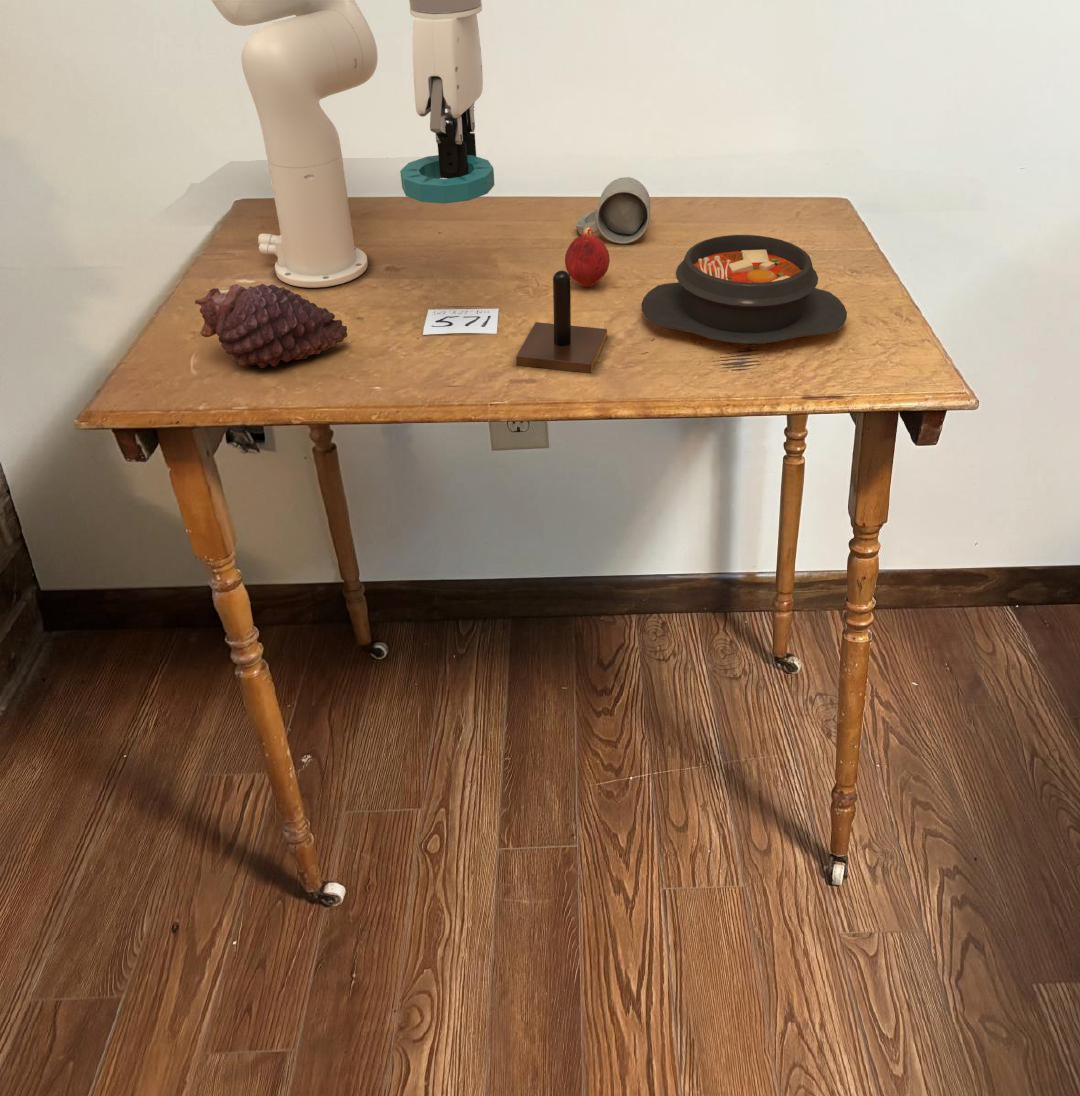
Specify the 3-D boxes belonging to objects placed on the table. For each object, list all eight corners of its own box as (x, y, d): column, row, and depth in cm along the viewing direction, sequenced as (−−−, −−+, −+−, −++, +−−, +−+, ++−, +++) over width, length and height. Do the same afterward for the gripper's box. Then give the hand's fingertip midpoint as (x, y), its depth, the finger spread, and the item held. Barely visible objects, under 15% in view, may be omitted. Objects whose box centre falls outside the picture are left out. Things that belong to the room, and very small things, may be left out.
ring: (390, 200, 120) (388, 182, 119) (421, 169, 127) (419, 152, 126) (477, 206, 118) (476, 187, 116) (504, 174, 125) (503, 156, 124)
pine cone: (344, 326, 138) (355, 279, 129) (339, 394, 134) (351, 351, 125) (197, 303, 133) (198, 253, 124) (188, 374, 129) (188, 327, 120)
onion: (605, 298, 143) (606, 239, 138) (561, 295, 144) (560, 236, 139) (611, 279, 147) (613, 221, 142) (569, 276, 148) (569, 218, 143)
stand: (516, 365, 129) (513, 284, 123) (535, 330, 136) (533, 252, 130) (591, 373, 127) (591, 291, 121) (606, 337, 134) (608, 258, 128)
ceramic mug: (649, 222, 162) (651, 170, 157) (649, 244, 156) (650, 191, 151) (578, 222, 163) (577, 171, 158) (574, 245, 156) (573, 191, 152)
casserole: (635, 353, 131) (638, 287, 125) (645, 286, 145) (647, 224, 140) (850, 363, 128) (862, 296, 122) (838, 293, 142) (848, 231, 137)
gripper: (436, -20, 121) (450, 149, 132) (382, 13, 109) (403, 196, 120) (501, -19, 119) (510, 152, 130) (454, 15, 107) (468, 200, 118)
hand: (458, 172), depth 125 cm, fingers closed on ring, 2 cm apart
